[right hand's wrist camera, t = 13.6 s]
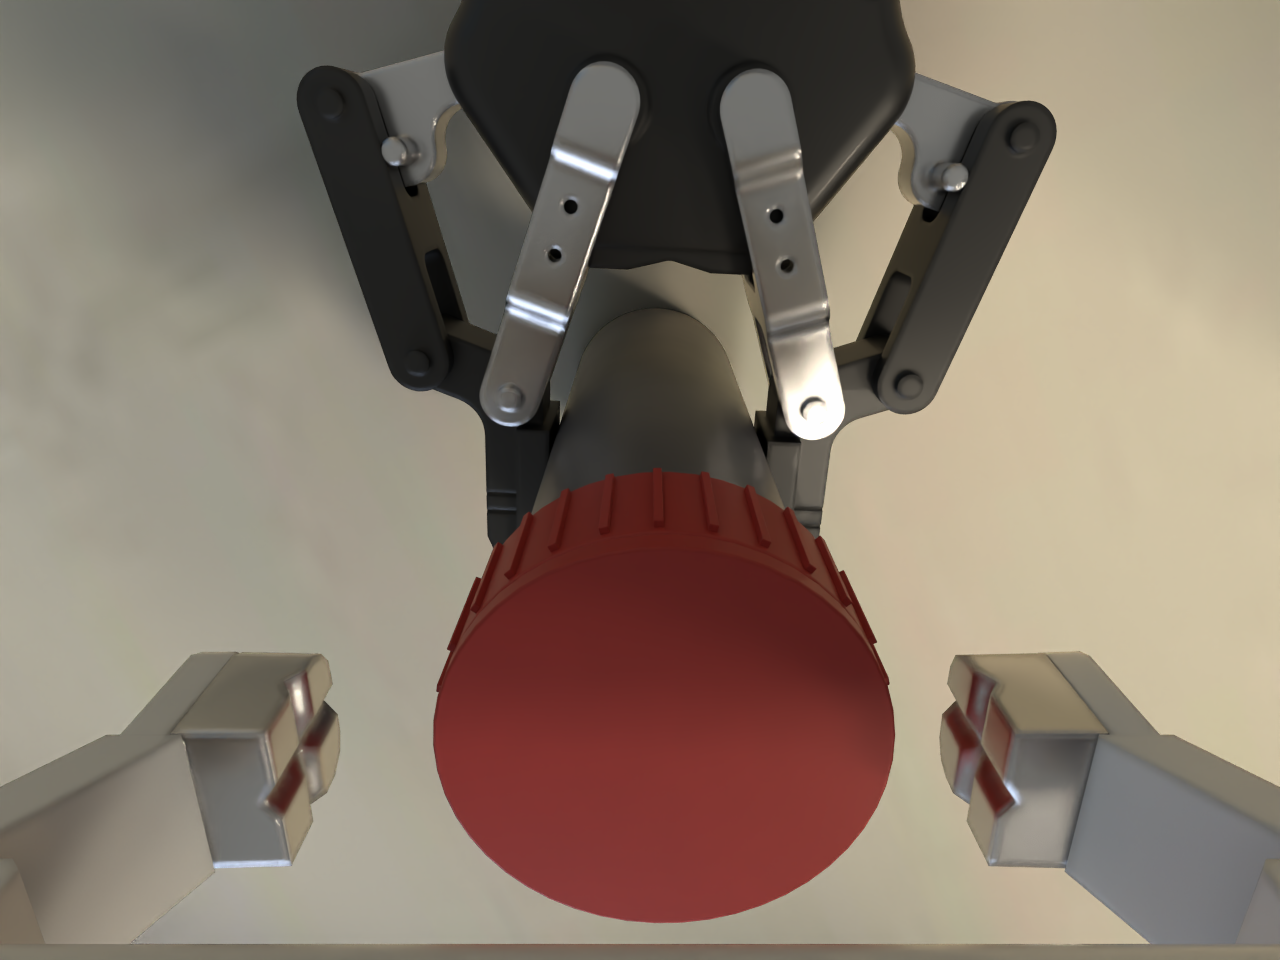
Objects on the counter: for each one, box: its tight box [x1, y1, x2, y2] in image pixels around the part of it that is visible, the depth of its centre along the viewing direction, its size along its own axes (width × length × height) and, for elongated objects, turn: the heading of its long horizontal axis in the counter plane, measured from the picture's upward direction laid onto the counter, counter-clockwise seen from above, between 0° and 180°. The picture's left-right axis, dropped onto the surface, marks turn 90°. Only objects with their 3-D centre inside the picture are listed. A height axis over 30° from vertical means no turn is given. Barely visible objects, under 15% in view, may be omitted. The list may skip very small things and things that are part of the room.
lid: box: [433, 468, 895, 923], centre depth 11 cm, size 5×5×2 cm
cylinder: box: [531, 308, 785, 515], centre depth 17 cm, size 4×4×16 cm
